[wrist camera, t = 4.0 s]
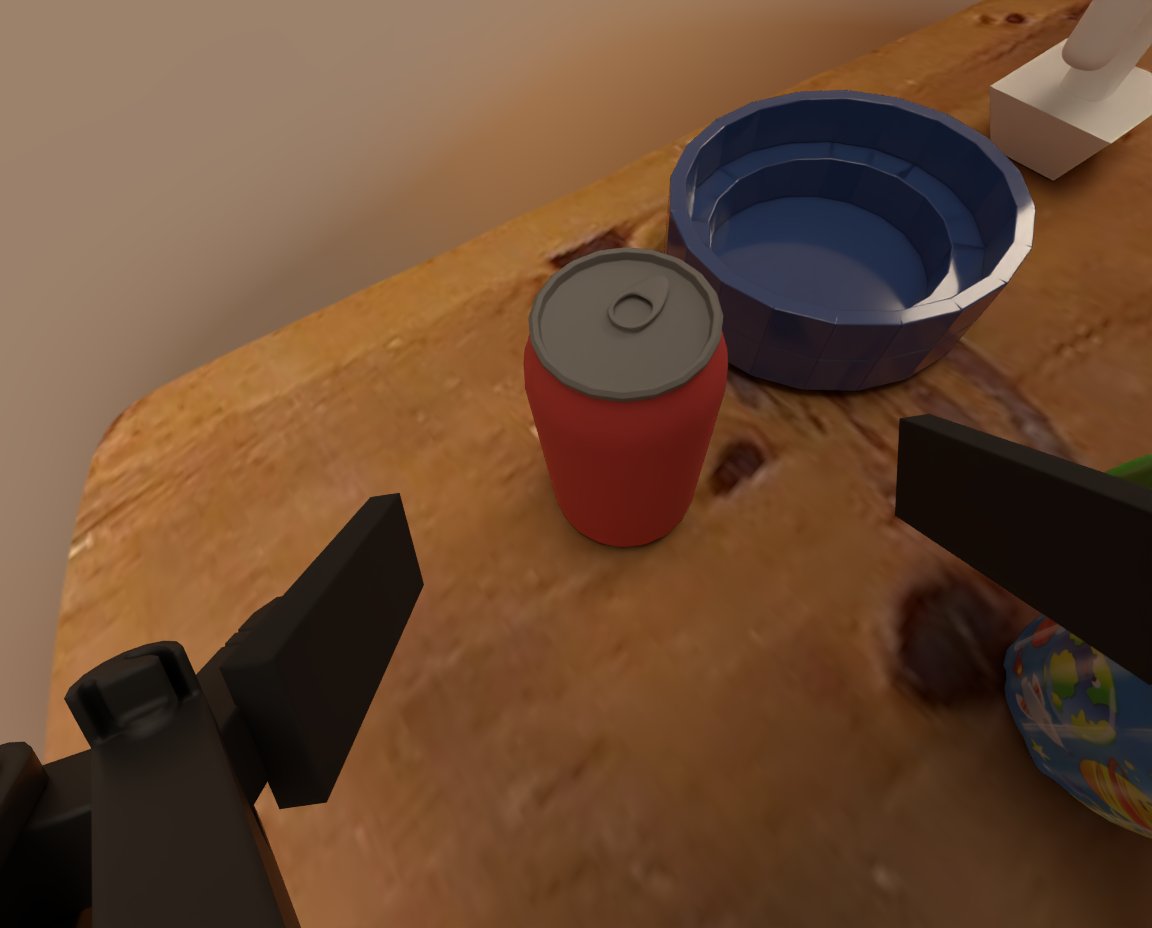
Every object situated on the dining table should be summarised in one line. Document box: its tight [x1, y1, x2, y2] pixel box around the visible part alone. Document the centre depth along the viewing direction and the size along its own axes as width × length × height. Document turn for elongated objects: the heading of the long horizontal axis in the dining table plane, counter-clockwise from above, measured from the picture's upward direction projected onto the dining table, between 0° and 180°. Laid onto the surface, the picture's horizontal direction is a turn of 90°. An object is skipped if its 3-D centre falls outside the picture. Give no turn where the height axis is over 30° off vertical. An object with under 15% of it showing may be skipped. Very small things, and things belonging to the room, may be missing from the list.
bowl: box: [664, 90, 1036, 391], centre depth 28 cm, size 17×17×6 cm
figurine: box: [990, 0, 1152, 181], centre depth 27 cm, size 7×9×15 cm
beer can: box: [524, 247, 728, 547], centre depth 21 cm, size 7×7×12 cm
